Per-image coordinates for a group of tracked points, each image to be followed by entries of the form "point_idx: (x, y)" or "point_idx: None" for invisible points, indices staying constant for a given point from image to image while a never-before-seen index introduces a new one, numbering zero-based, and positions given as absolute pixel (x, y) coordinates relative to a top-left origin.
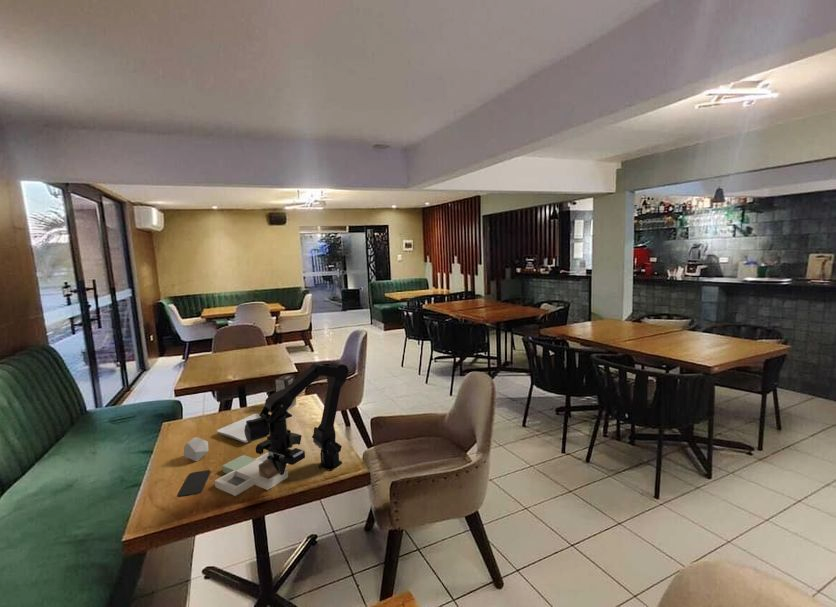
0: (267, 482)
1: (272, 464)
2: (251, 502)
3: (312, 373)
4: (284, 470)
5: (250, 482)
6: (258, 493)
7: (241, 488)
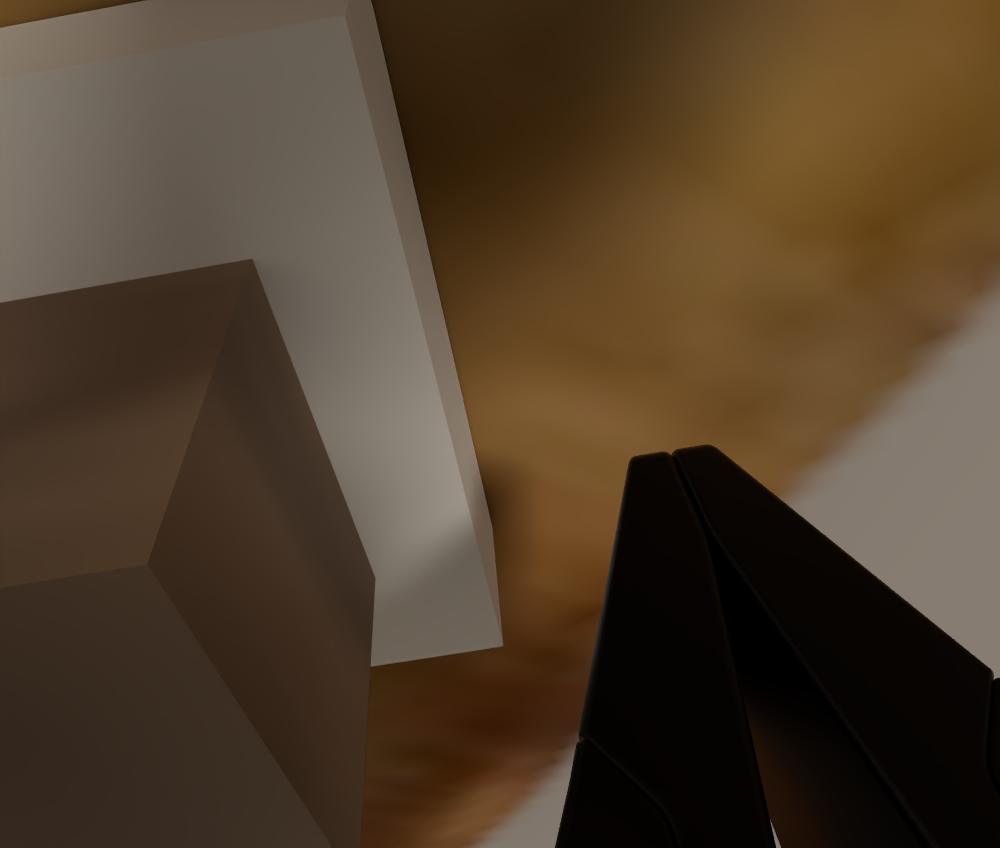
0: (480, 634)
1: (173, 771)
2: (579, 728)
3: None
4: (801, 527)
5: None
6: None
7: None
